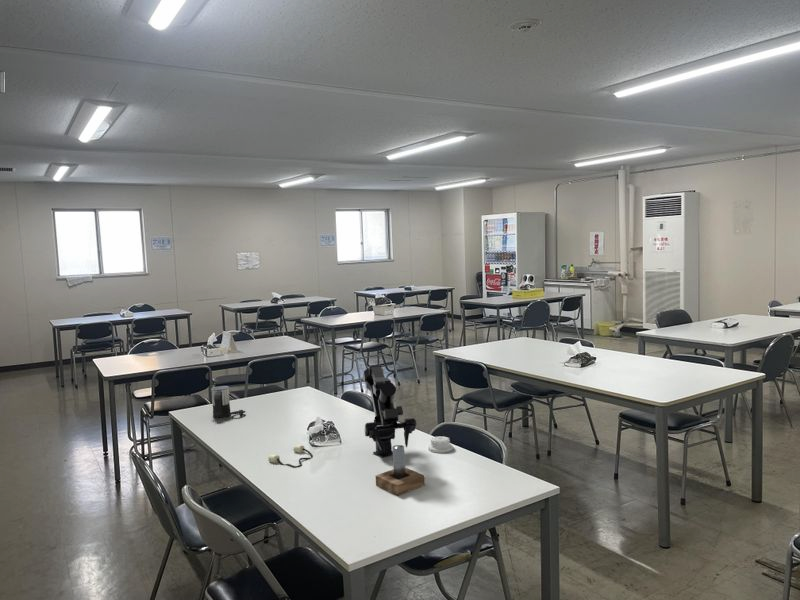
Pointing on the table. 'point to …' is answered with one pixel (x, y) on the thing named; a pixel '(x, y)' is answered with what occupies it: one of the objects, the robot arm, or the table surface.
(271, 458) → the cable
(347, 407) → the table surface
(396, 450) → the steel pin
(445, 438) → the mechanical component
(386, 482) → the walnut bore block
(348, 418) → the table surface
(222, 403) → the milk frother
